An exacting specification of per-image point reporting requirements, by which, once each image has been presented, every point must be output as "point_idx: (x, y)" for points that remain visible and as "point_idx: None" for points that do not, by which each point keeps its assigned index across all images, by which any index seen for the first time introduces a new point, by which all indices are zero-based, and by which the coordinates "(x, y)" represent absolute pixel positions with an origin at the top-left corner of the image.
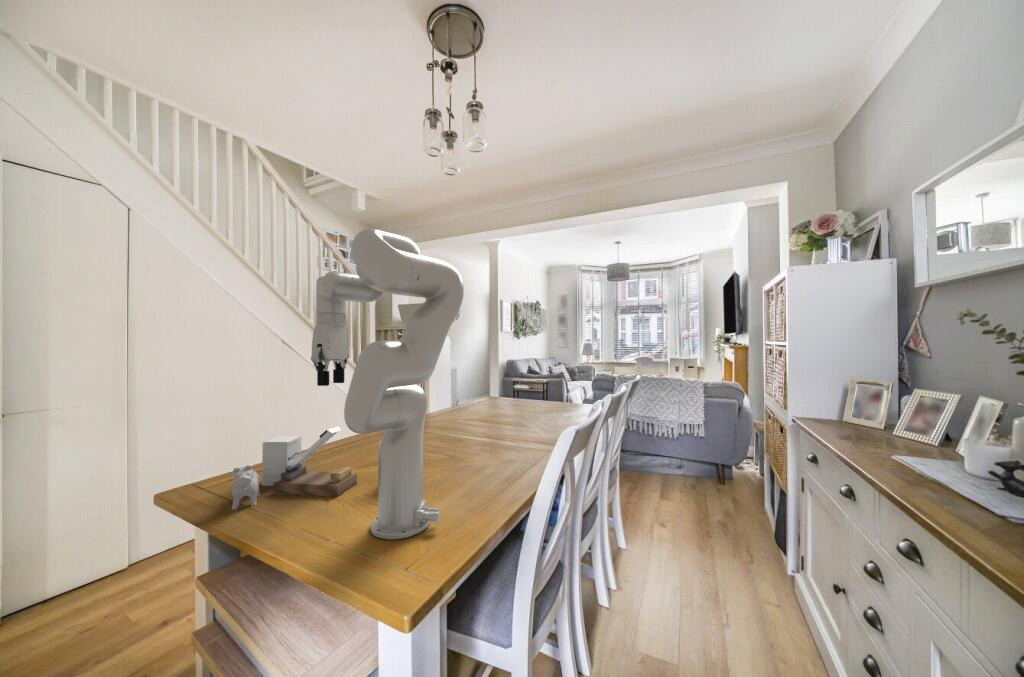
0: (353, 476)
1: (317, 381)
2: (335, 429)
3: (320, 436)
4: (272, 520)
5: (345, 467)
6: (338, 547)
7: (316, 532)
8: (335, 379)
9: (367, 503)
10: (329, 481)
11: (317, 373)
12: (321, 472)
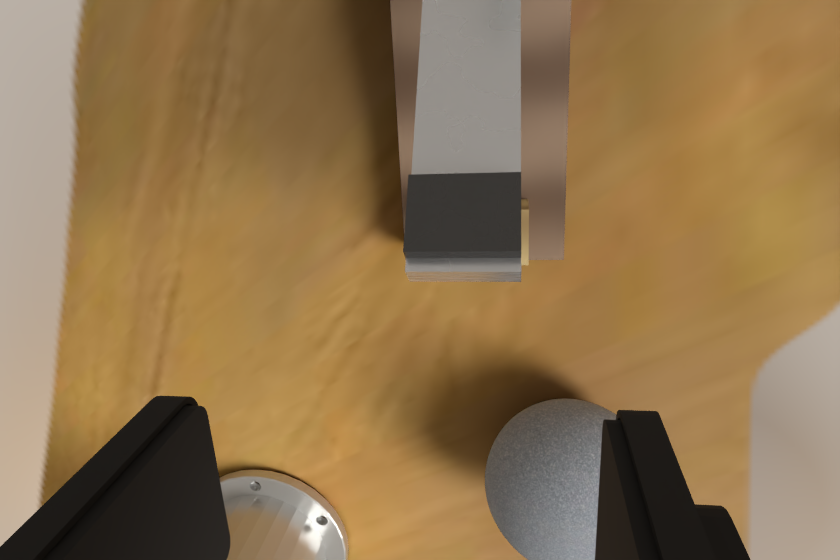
0: (533, 257)
1: (123, 431)
2: (473, 275)
3: (408, 186)
4: (189, 134)
5: (523, 236)
6: None
7: (173, 336)
8: (612, 496)
9: (380, 385)
10: None
11: (13, 539)
12: (562, 53)
